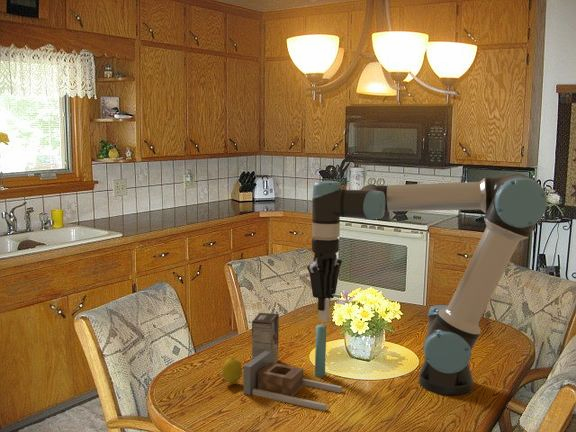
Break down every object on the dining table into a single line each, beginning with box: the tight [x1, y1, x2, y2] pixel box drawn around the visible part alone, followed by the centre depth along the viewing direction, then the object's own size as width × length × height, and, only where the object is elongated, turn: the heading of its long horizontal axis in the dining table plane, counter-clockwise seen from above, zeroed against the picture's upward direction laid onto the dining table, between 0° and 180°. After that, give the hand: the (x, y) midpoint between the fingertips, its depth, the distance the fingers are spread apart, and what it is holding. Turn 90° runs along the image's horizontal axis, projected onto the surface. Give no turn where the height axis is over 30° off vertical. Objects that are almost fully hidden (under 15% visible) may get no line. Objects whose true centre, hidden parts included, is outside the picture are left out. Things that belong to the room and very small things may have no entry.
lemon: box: [221, 356, 243, 385], centre depth 174 cm, size 6×6×8 cm
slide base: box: [243, 349, 343, 412], centre depth 167 cm, size 25×15×9 cm, turn 65°
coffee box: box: [251, 312, 280, 364], centre depth 185 cm, size 9×6×16 cm
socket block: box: [258, 362, 304, 397], centre depth 169 cm, size 10×8×6 cm
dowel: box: [314, 324, 327, 378], centre depth 178 cm, size 3×3×16 cm
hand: (323, 320), depth 170 cm, fingers closed
